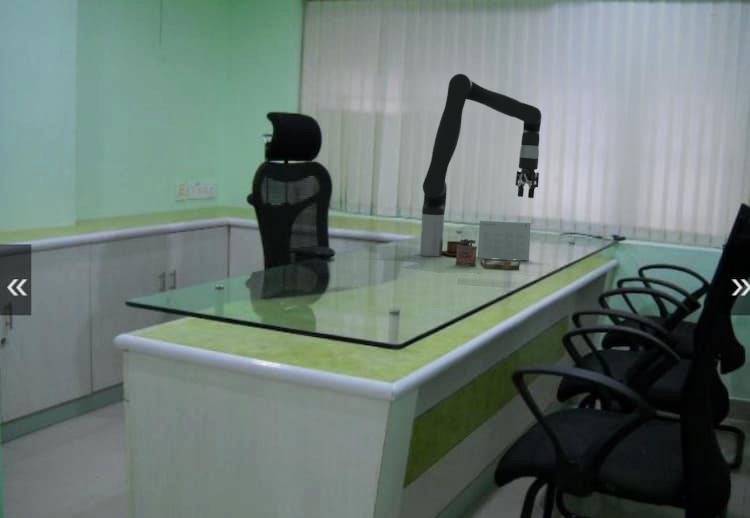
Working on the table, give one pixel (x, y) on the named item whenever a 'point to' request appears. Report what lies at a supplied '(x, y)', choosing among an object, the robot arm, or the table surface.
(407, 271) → the table surface
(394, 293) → the table surface
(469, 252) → the lighter
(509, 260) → the shelf board
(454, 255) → the cup and saucer
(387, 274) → the table surface
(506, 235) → the skincare box
